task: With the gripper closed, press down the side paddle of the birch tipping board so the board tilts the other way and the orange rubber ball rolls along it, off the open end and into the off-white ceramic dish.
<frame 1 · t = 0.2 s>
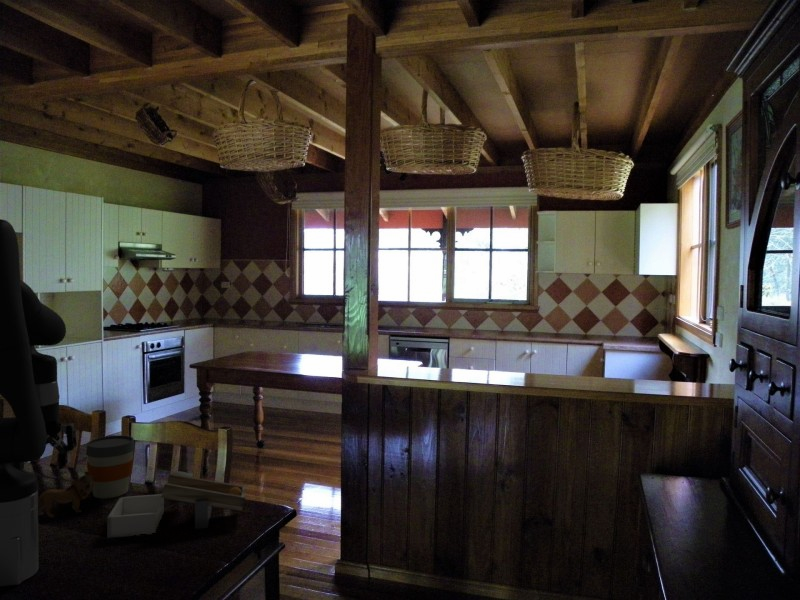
hand: (41, 469, 128), 18 cm above the table, tool pointing down, fingers open, 8 cm apart
ball: (235, 493, 145), point 6 cm above the table, tilted 16°, touching lever
lever: (206, 486, 147), point 7 cm above the table, hinge at 14.5°, touching ball
tray: (137, 524, 139), on the table
lion figurine: (65, 512, 146), on the table
reusable coffee cup: (110, 492, 160), on the table
fulcrum: (203, 518, 143), on the table
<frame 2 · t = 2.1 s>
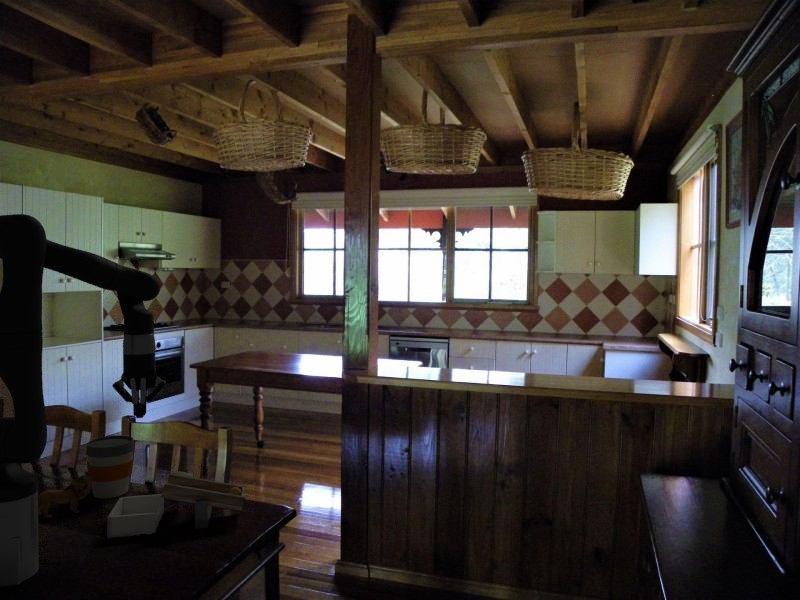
hand: (140, 417, 142), 27 cm above the table, tool pointing down, fingers closed
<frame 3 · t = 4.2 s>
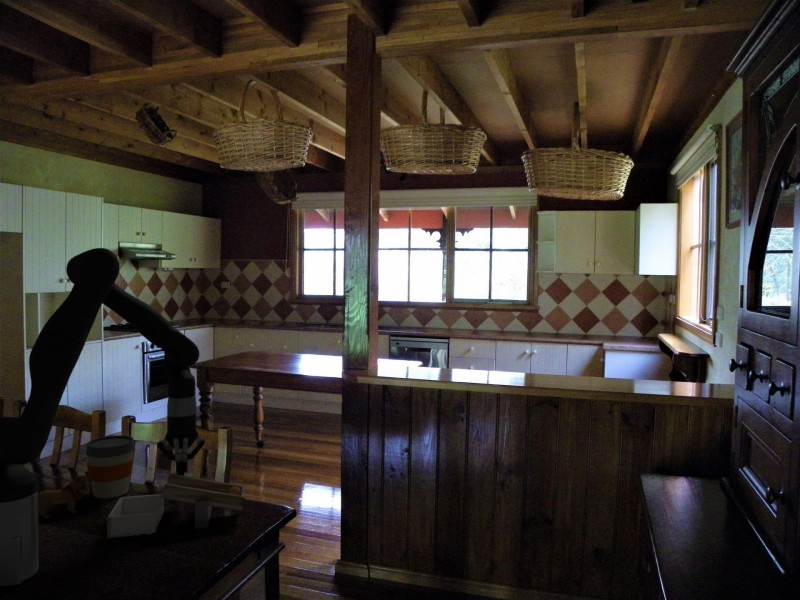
hand: (181, 473, 152), 8 cm above the table, tool pointing down, fingers closed
lever: (206, 486, 147), point 7 cm above the table, hinge at 14.1°, touching ball, gripper
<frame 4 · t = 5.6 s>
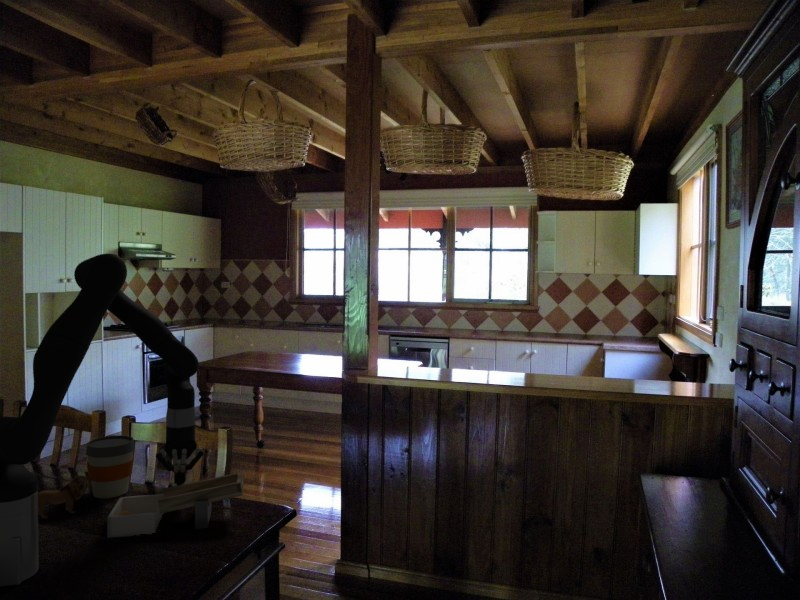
hand: (180, 484, 152), 5 cm above the table, tool pointing down, fingers closed
ball: (125, 517, 139), point 2 cm above the table, tilted 119°, touching tray
lever: (204, 486, 147), point 7 cm above the table, hinge at -8.8°, touching gripper
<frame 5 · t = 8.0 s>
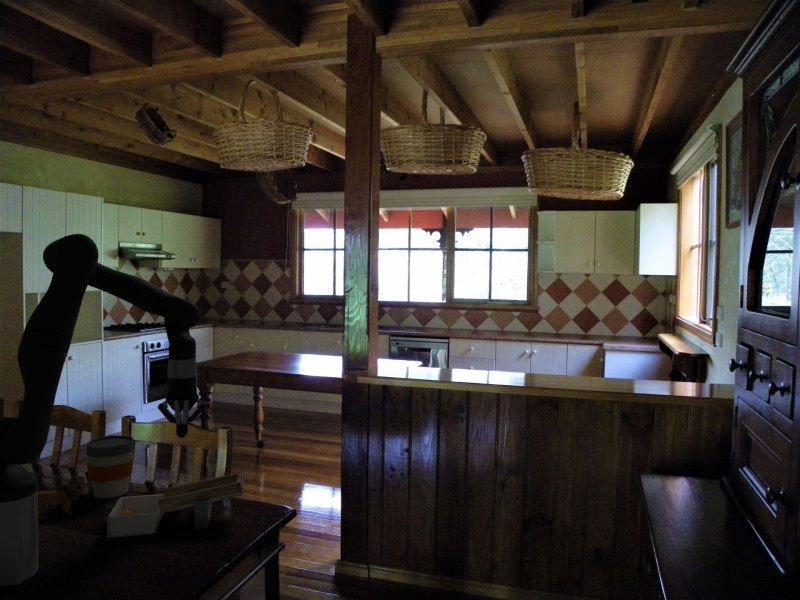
hand: (182, 436, 151), 19 cm above the table, tool pointing down, fingers closed
ball: (125, 516, 139), point 2 cm above the table, tilted 125°, touching tray
lever: (204, 486, 147), point 7 cm above the table, hinge at -8.9°
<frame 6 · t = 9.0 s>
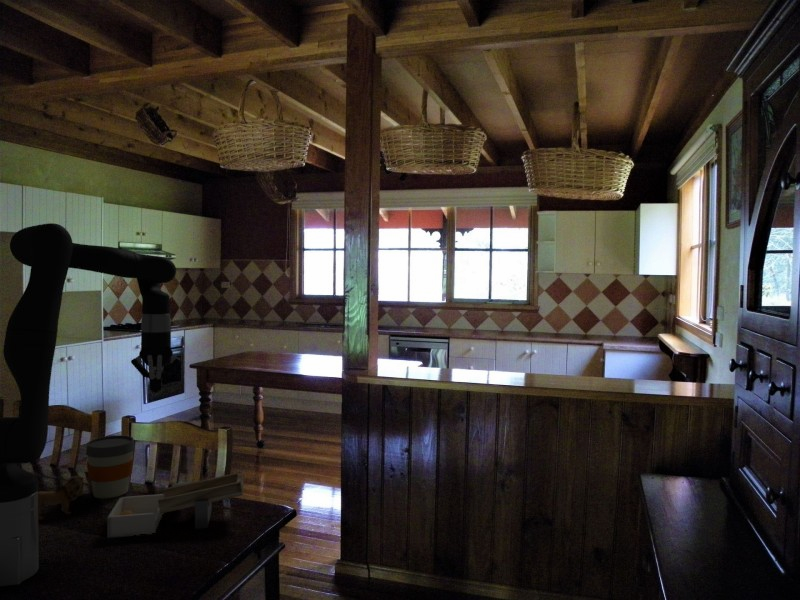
hand: (156, 392, 152), 31 cm above the table, tool pointing down, fingers closed
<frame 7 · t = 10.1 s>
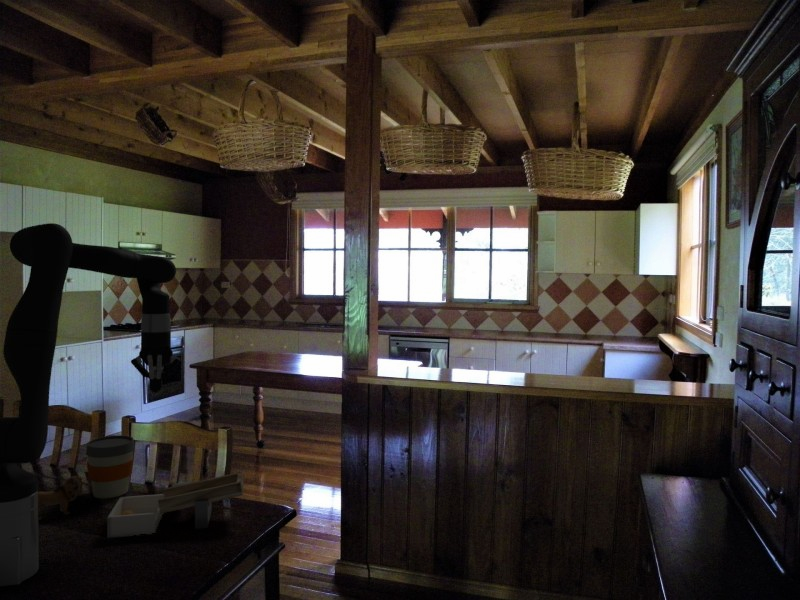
hand: (156, 391, 152), 31 cm above the table, tool pointing down, fingers closed
at the end: ball inside the target area on the tray (2.4 cm from its centre), point 2.2 cm above the tray's base; lever at -9° (first picture: +15°) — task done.
